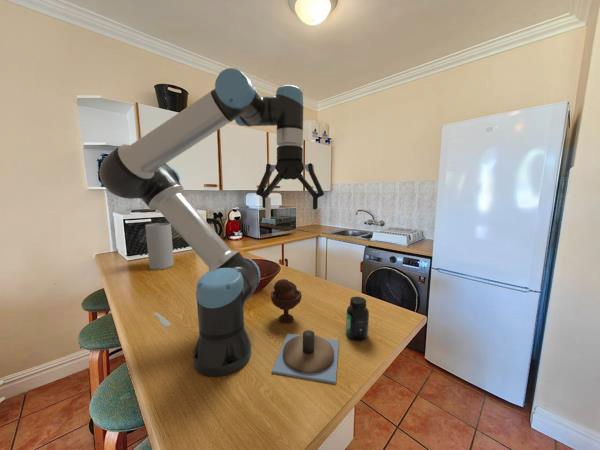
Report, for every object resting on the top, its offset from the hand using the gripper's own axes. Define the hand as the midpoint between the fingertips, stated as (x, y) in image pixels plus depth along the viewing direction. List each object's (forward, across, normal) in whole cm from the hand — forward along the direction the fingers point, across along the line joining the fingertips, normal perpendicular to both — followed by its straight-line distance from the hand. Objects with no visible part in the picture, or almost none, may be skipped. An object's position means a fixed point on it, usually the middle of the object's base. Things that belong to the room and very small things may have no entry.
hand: (289, 219), depth 72 cm
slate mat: (+37, -8, +10) cm, 39 cm away
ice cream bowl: (+37, +3, -7) cm, 38 cm away
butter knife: (+37, +52, 0) cm, 64 cm away
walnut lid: (+36, -8, +10) cm, 38 cm away
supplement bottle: (+37, -21, -3) cm, 43 cm away
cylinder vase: (+37, +89, -46) cm, 107 cm away
